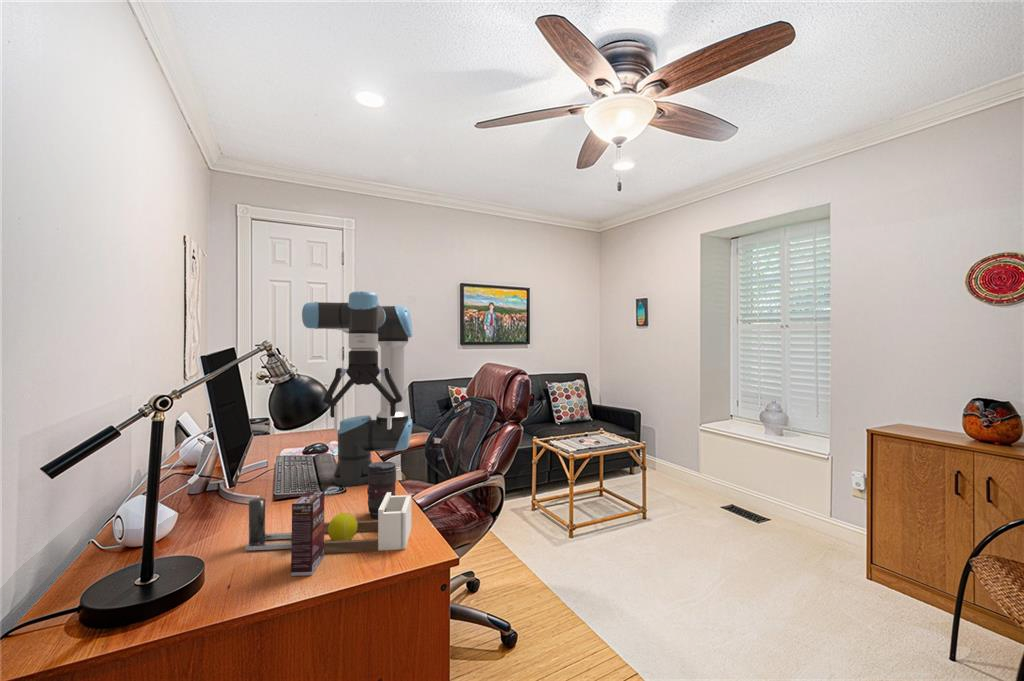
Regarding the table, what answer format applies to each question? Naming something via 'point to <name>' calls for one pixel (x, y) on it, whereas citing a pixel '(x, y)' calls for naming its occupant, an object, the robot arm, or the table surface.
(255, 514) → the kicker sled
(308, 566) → the supplement box
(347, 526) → the tennis ball
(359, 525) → the rails
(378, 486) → the camera lens
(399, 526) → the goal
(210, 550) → the table surface
